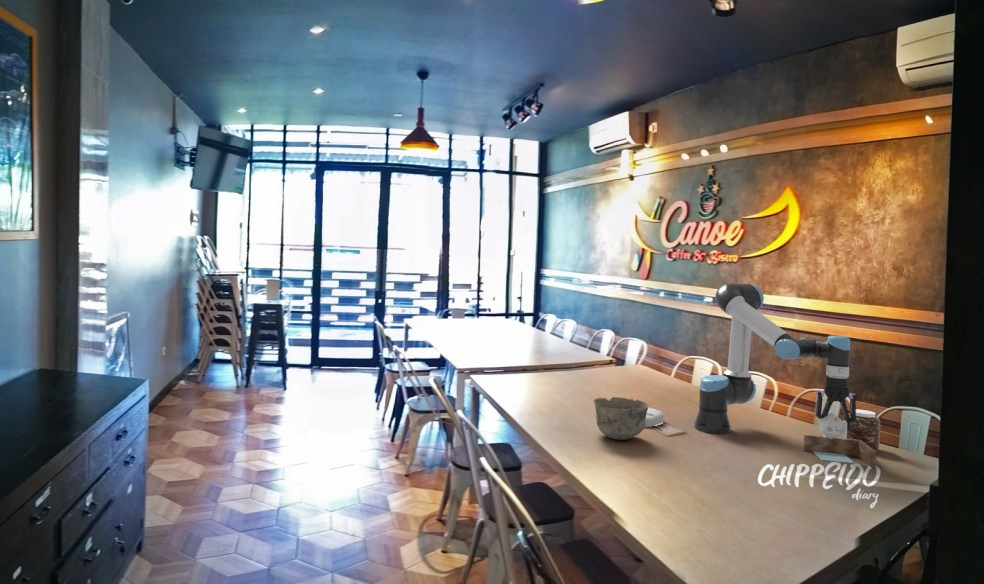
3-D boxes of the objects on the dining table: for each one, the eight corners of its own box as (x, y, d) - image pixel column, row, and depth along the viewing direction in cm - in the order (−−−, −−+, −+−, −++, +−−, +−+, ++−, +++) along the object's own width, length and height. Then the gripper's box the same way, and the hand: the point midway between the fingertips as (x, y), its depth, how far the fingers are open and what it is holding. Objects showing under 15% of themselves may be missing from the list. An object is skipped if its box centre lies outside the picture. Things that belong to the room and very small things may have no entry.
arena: (814, 462, 217) (815, 445, 217) (803, 449, 233) (804, 434, 233) (875, 468, 212) (876, 451, 212) (860, 455, 228) (860, 439, 228)
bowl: (651, 436, 246) (652, 400, 245) (641, 449, 226) (643, 410, 226) (599, 428, 255) (601, 394, 255) (586, 441, 235) (587, 403, 235)
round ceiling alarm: (675, 422, 272) (675, 409, 272) (659, 434, 251) (660, 419, 251) (623, 414, 286) (623, 401, 285) (604, 424, 264) (604, 410, 264)
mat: (821, 460, 219) (821, 459, 219) (813, 452, 230) (813, 451, 230) (854, 463, 217) (854, 462, 217) (844, 455, 227) (844, 454, 227)
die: (825, 441, 218) (827, 415, 218) (813, 435, 227) (814, 409, 227) (848, 442, 218) (850, 416, 218) (835, 436, 227) (836, 410, 227)
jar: (874, 446, 241) (875, 410, 241) (882, 454, 230) (884, 416, 230) (841, 442, 245) (843, 407, 244) (848, 450, 234) (850, 413, 233)
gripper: (812, 376, 221) (810, 437, 222) (868, 380, 216) (866, 442, 217) (807, 373, 228) (804, 432, 229) (861, 377, 224) (858, 437, 224)
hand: (834, 437), depth 223 cm, fingers closed on die, 6 cm apart
